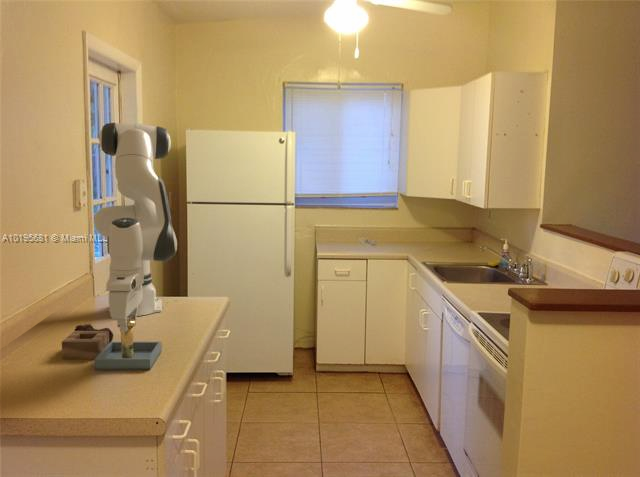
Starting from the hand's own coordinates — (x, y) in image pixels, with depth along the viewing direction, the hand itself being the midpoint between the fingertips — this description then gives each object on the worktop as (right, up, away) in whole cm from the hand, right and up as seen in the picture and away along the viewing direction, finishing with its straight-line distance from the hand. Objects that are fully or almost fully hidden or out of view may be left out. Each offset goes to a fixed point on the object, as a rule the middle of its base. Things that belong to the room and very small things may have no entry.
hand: (128, 326), depth 160 cm
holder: (-14, -9, +7) cm, 18 cm away
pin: (0, -9, -1) cm, 9 cm away
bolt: (-17, -7, +18) cm, 26 cm away
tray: (0, -10, +1) cm, 10 cm away
